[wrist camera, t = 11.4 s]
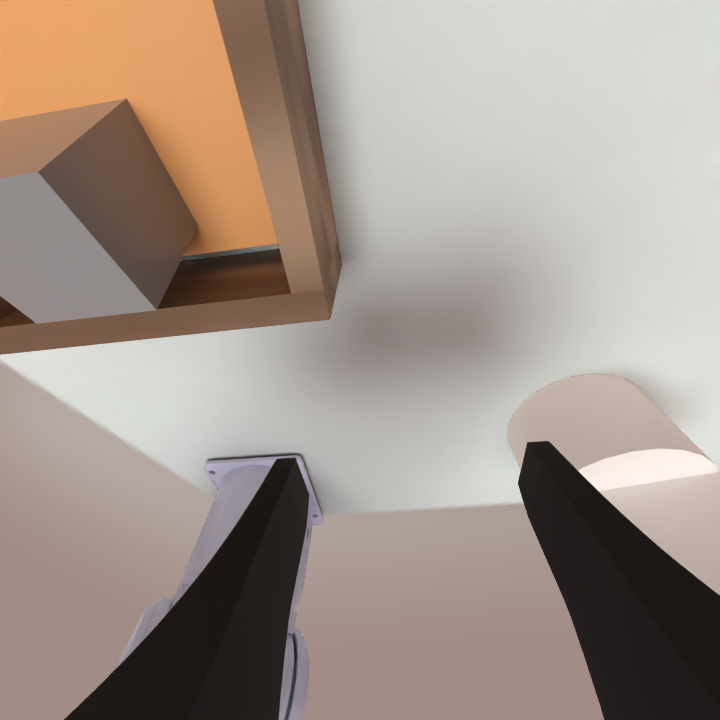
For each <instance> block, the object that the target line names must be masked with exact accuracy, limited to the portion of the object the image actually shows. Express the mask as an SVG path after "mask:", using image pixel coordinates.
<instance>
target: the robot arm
mask: <svg viewBox="0 0 720 720" xmlns="http://www.w3.org/2000/svg"><path fill="white" fill-rule="evenodd" d="M204 469H205V470H206V472H207V473H208V475H209V477H210V478H211V480H212V481H213V483H214V485H215V486H216V488H217V489H218V493H217V495H216V497H215V500H214V502H213V505H212V507H211V509H210V512H209V515H208V517H207V519H206V522H205V524H204V526H203V529H202V531H201V534H200V536H199V539H198V541H197V543H196V546H195V548H194V550H193V553H192V555H191V558H190V560H189V562H188V565H187V567H186V570H185V572H184V574H183V577H182V579H181V582H180V584H179V586H178V589H177V591H176V593H175V594H174V596H173V597H172V598H171V600H170V599H168V598H164V597H163V598H159V600H158V601H157V602H155V603H153V604H151V605H150V606H148V607H147V608H146V609H145V611H144V613H143V614H142V616H141V618H140V620H139V622H138V624H137V626H136V628H135V630H134V632H133V634H132V636H131V638H130V640H129V642H128V644H127V646H126V648H125V651H124V652H123V654H122V657H121V659H120V661H119V663H118V665H117V667H116V669H115V670H114V671H113V672H112V673H111V674H110V675H109V677H107V679H106V680H105V681H104V682H103V683H102V684H100V686H98V687H97V688H96V690H95V691H93V692H92V693H91V694H90V695H89V696H88V697H87V698H86V699H85V700H84V701H83V702H82V703H81V704H80V705H79V706H78V707H77V708H76V709H75V710H74V711H72V712H71V713H70V715H68V716H67V717H66V718H65V719H64V720H302V718H303V714H304V710H305V705H306V699H307V692H308V683H309V658H308V651H307V648H306V645H305V641H304V637H303V635H302V633H301V632H300V631H299V630H298V629H295V621H296V614H297V612H296V611H294V610H295V609H296V607H297V605H298V603H299V601H300V598H301V595H302V591H303V585H304V578H305V571H306V565H307V558H308V551H309V544H310V537H311V530H312V525H319V524H322V523H323V516H322V513H321V510H320V508H319V505H318V502H317V499H316V496H315V494H314V491H313V488H312V485H311V482H310V480H309V477H308V474H307V471H306V468H305V466H304V463H303V460H302V458H301V457H300V456H297V455H291V456H276V457H261V458H246V459H231V460H216V461H207V462H206V463H205V465H204ZM518 485H519V488H520V492H521V495H522V498H523V502H524V505H525V508H526V511H527V514H528V517H529V520H530V522H531V524H532V527H533V529H534V531H535V534H536V536H537V538H538V541H539V543H540V545H541V548H542V550H543V552H544V555H545V557H546V559H547V561H548V564H549V566H550V568H551V570H552V573H553V575H554V577H555V579H556V582H557V584H558V586H559V589H560V591H561V593H562V596H563V598H564V600H565V603H566V605H567V608H568V611H569V613H570V616H571V618H572V622H573V624H574V627H575V630H576V633H577V636H578V639H579V642H580V645H581V648H582V651H583V653H584V657H585V660H586V663H587V666H588V669H589V672H590V675H591V678H592V681H593V684H594V688H595V691H596V694H597V697H598V700H599V703H600V706H601V710H602V713H603V716H604V720H720V595H719V594H718V593H716V592H715V591H714V590H712V589H711V588H710V587H708V586H707V585H706V584H704V583H703V582H702V581H701V580H699V579H698V578H697V577H696V576H694V575H693V574H692V573H691V572H689V571H688V570H687V569H686V568H684V567H683V566H682V565H681V564H680V563H678V562H677V561H676V560H675V559H673V558H672V557H671V556H670V555H669V554H667V553H666V552H665V551H664V550H663V549H662V548H660V547H659V546H658V545H657V544H656V543H655V542H653V541H652V540H651V539H650V538H649V537H648V536H647V535H645V534H644V533H643V532H642V531H641V530H640V529H639V528H637V527H636V526H635V525H634V524H633V523H632V522H631V521H630V520H629V519H628V518H626V517H625V516H624V515H623V514H622V513H621V512H620V511H619V510H618V509H617V508H616V507H615V506H614V505H613V504H611V503H610V502H609V501H608V500H607V499H606V498H605V497H604V496H603V495H602V494H601V493H600V492H599V491H598V490H597V489H596V488H595V487H594V486H593V485H592V484H591V483H590V482H589V481H588V480H587V479H586V478H585V477H584V476H583V475H582V474H581V473H580V472H579V471H578V470H577V469H576V468H575V467H574V466H573V465H572V464H571V463H570V462H569V461H568V460H567V459H566V458H565V457H564V456H563V455H562V454H561V453H560V452H559V451H558V450H557V449H556V448H555V447H554V446H553V445H552V443H550V442H549V441H537V442H527V445H526V449H525V454H524V458H523V463H522V468H521V472H520V477H519V481H518Z"/></svg>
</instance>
